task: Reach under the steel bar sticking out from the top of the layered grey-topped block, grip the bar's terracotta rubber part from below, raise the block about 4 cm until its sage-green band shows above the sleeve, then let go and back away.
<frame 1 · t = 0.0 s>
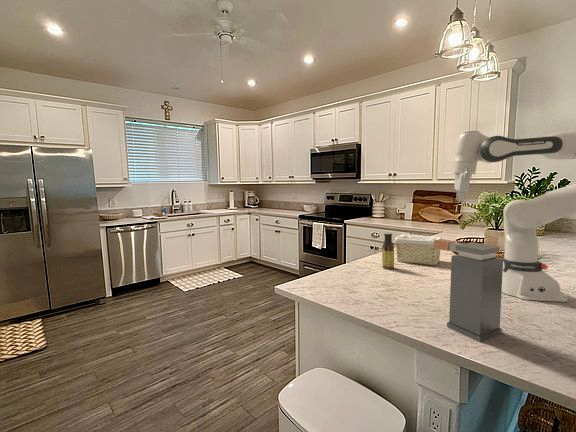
hand: (459, 201, 133), 39 cm above the counter, tool pointing down, fingers open, 8 cm apart
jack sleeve: (473, 329, 97), on the counter
sauce bottle: (388, 268, 169), on the counter
layered grey-topped block: (461, 278, 100), point 16 cm above the counter, slide at 0.0 cm
storage basket: (417, 261, 182), on the counter
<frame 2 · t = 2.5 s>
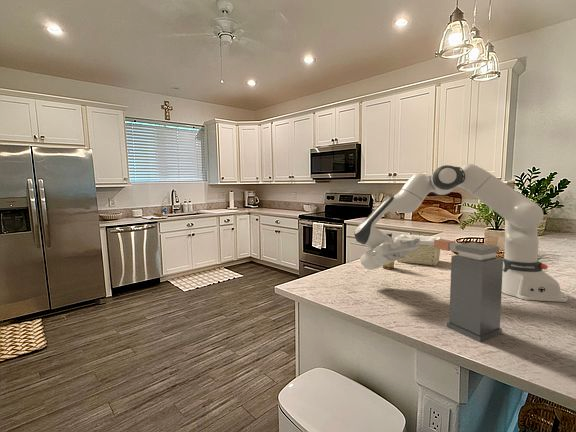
hand: (410, 241, 118), 25 cm above the counter, tool pointing upward, fingers open, 8 cm apart
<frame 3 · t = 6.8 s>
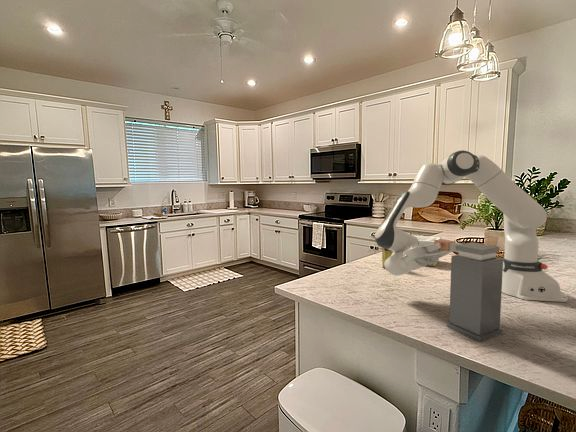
hand: (446, 243, 104), 26 cm above the counter, tool pointing upward, fingers closed on layered grey-topped block, 4 cm apart
layered grey-topped block: (461, 278, 100), point 16 cm above the counter, slide at 0.0 cm, touching gripper
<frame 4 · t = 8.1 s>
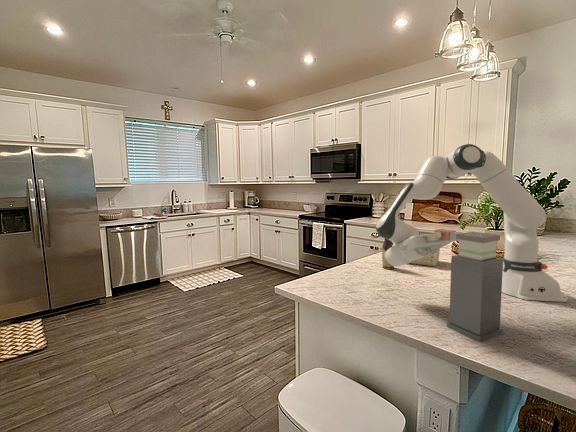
hand: (446, 232, 104), 30 cm above the counter, tool pointing upward, fingers closed on layered grey-topped block, 3 cm apart
layered grey-topped block: (461, 267, 100), point 19 cm above the counter, slide at 3.6 cm, touching gripper
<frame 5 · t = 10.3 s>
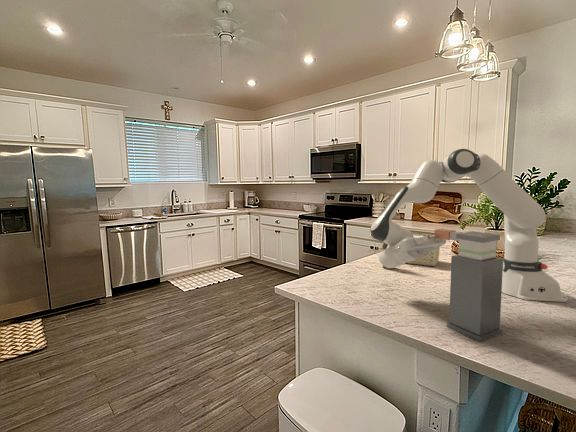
hand: (437, 236, 107), 29 cm above the counter, tool pointing upward, fingers open, 8 cm apart
layered grey-topped block: (461, 267, 100), point 20 cm above the counter, slide at 3.7 cm
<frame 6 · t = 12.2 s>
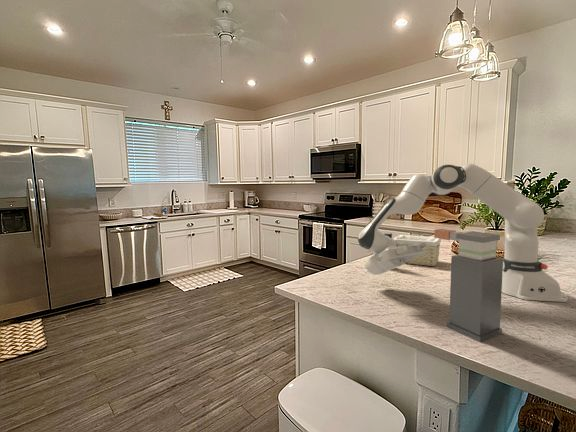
hand: (416, 246, 115), 23 cm above the counter, tool pointing upward, fingers open, 8 cm apart
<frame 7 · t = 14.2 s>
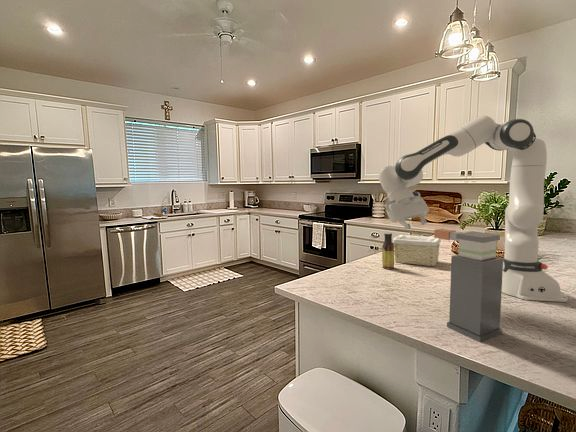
hand: (416, 226, 128), 29 cm above the counter, tool tilted 35°, fingers open, 8 cm apart
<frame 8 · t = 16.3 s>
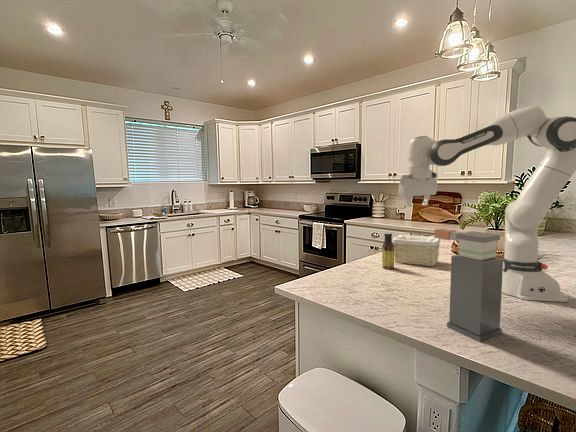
hand: (417, 206, 133), 37 cm above the counter, tool pointing down, fingers open, 8 cm apart
at the end: layered grey-topped block slide at 3.7 cm; the gripper is holding nothing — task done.
